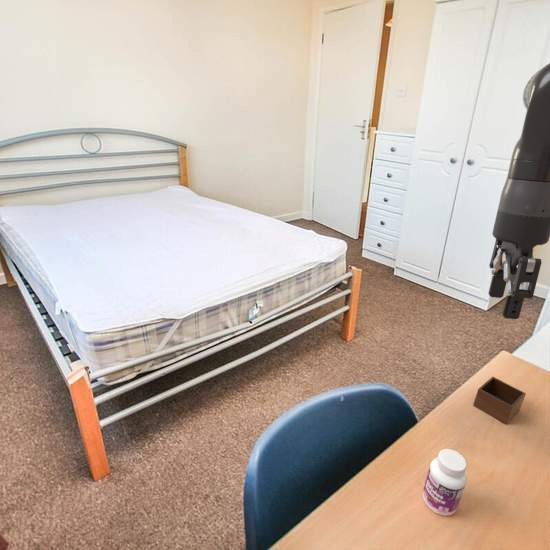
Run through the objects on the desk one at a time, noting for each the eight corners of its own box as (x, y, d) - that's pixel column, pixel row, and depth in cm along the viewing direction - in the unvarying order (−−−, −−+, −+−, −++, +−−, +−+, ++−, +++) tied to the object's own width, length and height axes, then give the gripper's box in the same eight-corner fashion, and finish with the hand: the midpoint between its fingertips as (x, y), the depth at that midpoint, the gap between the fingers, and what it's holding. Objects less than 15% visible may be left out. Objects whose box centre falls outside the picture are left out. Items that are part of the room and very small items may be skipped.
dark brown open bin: (487, 392, 86) (492, 376, 85) (519, 410, 82) (526, 393, 80) (473, 405, 82) (478, 388, 81) (505, 424, 78) (512, 407, 76)
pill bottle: (416, 501, 62) (427, 459, 58) (429, 480, 65) (441, 439, 62) (450, 524, 59) (464, 481, 55) (461, 501, 62) (476, 458, 58)
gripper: (576, 221, 50) (543, 329, 56) (537, 203, 63) (513, 293, 69) (513, 217, 52) (487, 322, 58) (487, 200, 65) (468, 288, 71)
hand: (501, 306), depth 63 cm, fingers open, 8 cm apart
